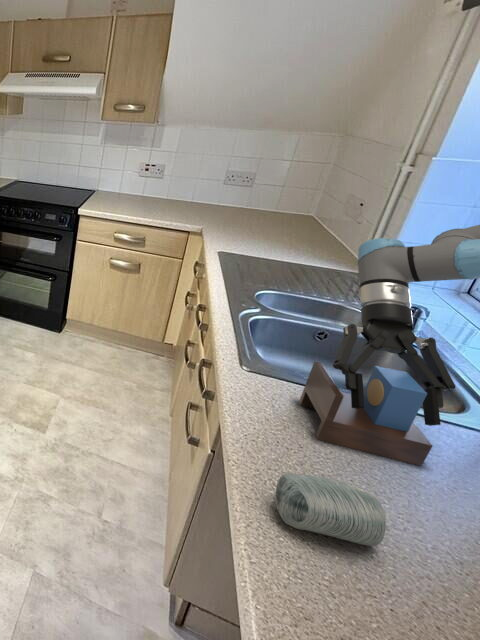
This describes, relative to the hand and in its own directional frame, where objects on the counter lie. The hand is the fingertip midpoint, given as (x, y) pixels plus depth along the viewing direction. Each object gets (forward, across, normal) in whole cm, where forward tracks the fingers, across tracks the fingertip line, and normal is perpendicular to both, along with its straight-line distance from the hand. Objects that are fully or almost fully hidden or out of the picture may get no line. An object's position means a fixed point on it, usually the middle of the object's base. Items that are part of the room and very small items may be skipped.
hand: (394, 415), depth 79 cm
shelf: (+3, -3, +7) cm, 9 cm away
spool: (+23, -17, -12) cm, 31 cm away
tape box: (0, 0, +4) cm, 4 cm away
